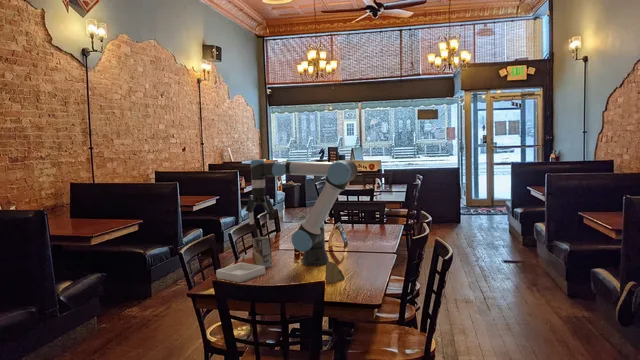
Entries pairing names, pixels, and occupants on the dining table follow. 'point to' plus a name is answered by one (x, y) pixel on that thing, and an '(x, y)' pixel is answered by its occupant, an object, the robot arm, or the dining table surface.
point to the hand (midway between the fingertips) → (260, 224)
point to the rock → (333, 273)
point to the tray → (240, 272)
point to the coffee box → (262, 251)
